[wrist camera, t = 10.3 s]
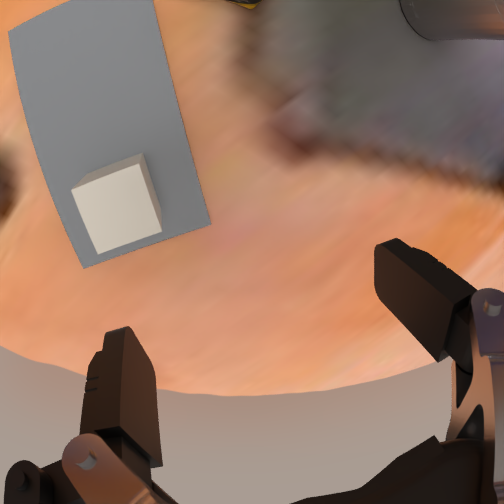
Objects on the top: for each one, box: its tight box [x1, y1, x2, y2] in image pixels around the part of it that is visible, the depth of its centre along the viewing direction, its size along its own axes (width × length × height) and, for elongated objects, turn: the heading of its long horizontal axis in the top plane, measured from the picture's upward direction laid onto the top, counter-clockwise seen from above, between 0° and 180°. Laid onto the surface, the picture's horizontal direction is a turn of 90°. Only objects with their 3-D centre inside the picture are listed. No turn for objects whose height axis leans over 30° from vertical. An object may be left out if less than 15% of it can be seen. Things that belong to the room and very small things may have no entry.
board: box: [8, 0, 211, 269], centre depth 22 cm, size 14×26×6 cm, turn 13°
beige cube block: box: [71, 153, 162, 254], centre depth 25 cm, size 6×6×6 cm
